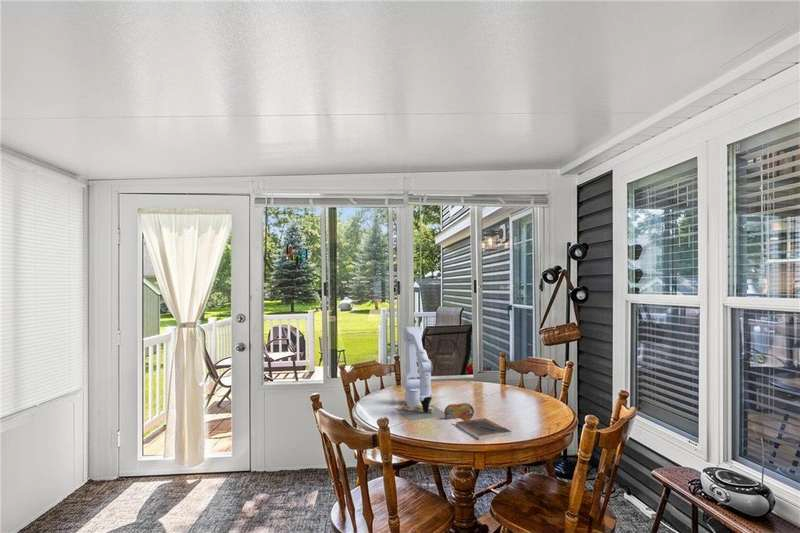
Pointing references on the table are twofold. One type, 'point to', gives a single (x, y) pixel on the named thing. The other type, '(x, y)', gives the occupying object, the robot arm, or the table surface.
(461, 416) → the tin
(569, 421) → the table surface
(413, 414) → the board
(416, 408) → the link
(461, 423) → the picture frame
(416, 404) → the keeper
